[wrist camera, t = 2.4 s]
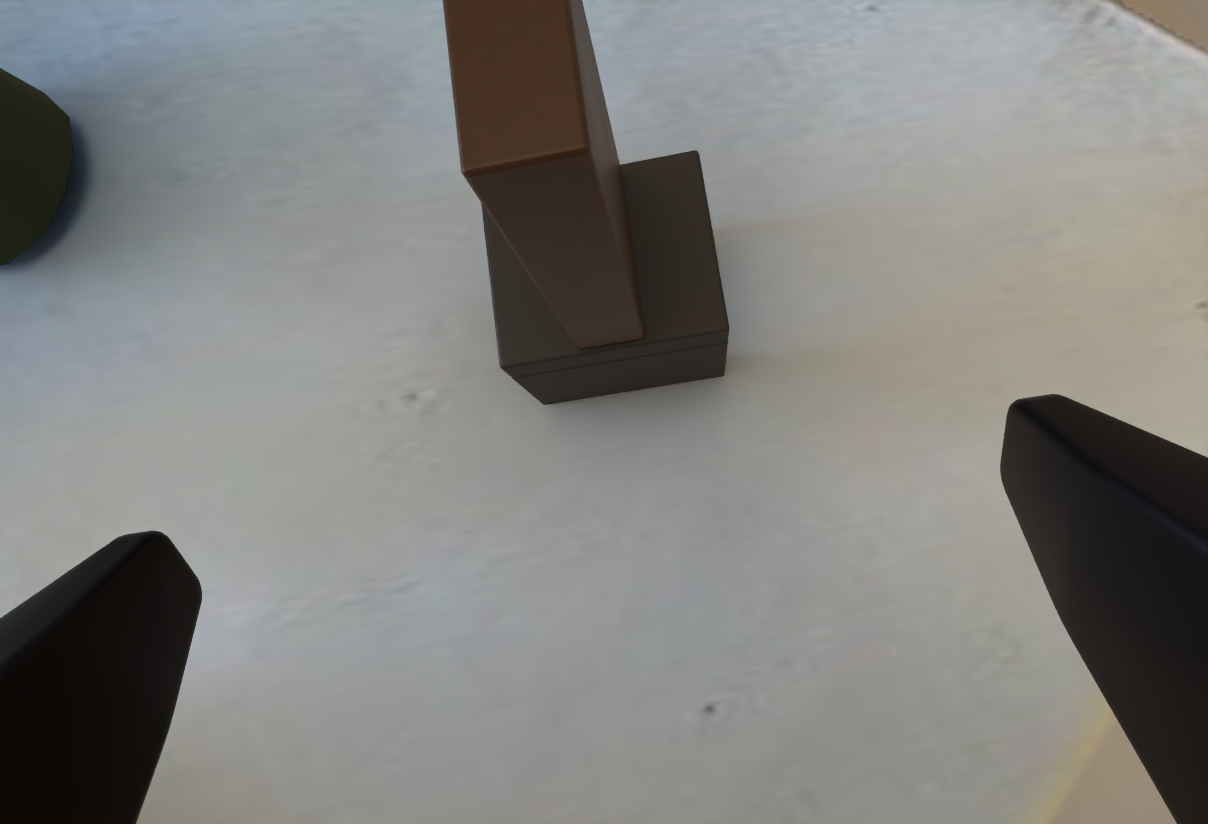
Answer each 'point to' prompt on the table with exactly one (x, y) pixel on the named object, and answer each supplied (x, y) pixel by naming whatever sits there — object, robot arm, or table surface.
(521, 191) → the tall backed stool
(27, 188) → the character mug
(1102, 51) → the table surface
